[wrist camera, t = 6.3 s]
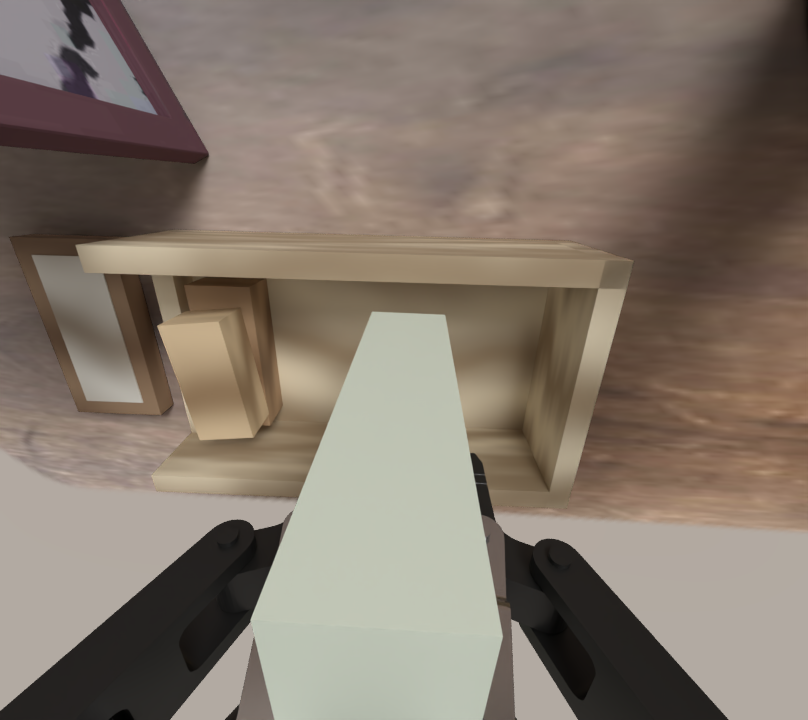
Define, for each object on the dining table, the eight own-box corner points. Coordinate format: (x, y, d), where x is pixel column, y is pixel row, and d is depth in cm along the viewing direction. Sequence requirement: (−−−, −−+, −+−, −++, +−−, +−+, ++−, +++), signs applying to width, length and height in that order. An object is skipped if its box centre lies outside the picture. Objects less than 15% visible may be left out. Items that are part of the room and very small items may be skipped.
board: (33, 234, 23) (8, 237, 22) (128, 236, 23) (108, 239, 22) (95, 401, 28) (77, 412, 27) (173, 404, 28) (160, 415, 26)
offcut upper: (185, 311, 21) (157, 325, 19) (240, 307, 21) (218, 321, 18) (220, 416, 24) (199, 440, 22) (269, 413, 24) (253, 437, 21)
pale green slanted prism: (372, 311, 15) (250, 620, 4) (445, 314, 15) (502, 636, 4) (373, 479, 19) (308, 864, 8) (431, 482, 19) (444, 875, 8)
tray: (174, 229, 23) (75, 244, 16) (570, 240, 22) (634, 260, 16) (216, 422, 28) (156, 491, 22) (531, 434, 28) (566, 508, 21)
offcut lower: (207, 275, 23) (184, 285, 20) (266, 277, 22) (249, 287, 20) (232, 403, 26) (214, 423, 24) (282, 405, 26) (270, 425, 24)
